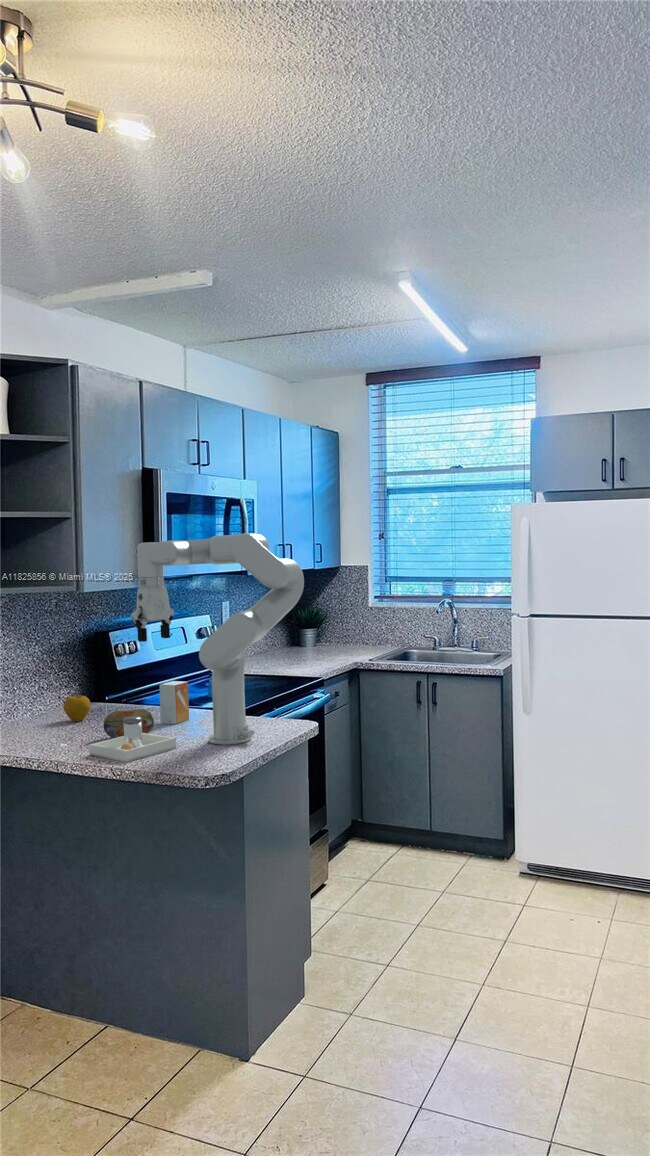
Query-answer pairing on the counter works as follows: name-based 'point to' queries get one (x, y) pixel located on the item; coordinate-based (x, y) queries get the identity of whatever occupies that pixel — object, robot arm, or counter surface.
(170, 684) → the small box
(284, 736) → the counter surface
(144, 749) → the tray
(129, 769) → the counter surface
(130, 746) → the ball
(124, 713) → the tin
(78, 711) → the apple
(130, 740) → the shaker
